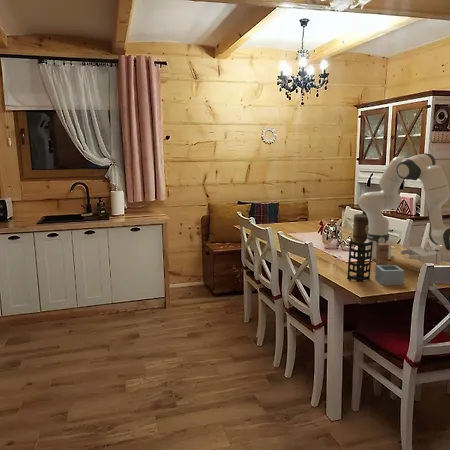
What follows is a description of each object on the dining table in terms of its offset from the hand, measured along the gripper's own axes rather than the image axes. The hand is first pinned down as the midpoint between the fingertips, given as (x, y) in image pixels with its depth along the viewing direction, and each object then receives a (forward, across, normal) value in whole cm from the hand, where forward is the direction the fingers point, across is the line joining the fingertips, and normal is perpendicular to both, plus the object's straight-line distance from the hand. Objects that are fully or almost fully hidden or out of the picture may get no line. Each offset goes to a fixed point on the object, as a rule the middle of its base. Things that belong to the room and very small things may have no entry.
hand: (404, 254), depth 214 cm
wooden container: (-5, -80, +10) cm, 81 cm away
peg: (+11, 0, +10) cm, 15 cm away
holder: (+25, +9, +10) cm, 29 cm away
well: (+12, +13, +10) cm, 21 cm away
